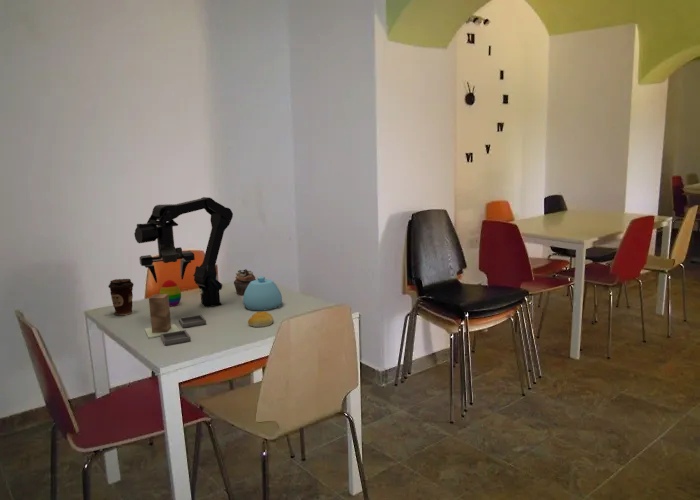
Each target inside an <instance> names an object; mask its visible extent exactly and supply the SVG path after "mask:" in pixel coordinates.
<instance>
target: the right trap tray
mask: <svg viewBox="0 0 700 500" xmlns="http://www.w3.org/2000/svg"><path fill="white" fill-rule="evenodd" d="M177 320H178V323H179V324H180V326H181V327H182V329H187V328H192V327H193V328H194V327H200V326H205V325H207V319H206V318H205V317H203V315H202V314H197V315H189V316H183V317H178V318H177Z"/></svg>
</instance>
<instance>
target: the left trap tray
mask: <svg viewBox="0 0 700 500" xmlns="http://www.w3.org/2000/svg"><path fill="white" fill-rule="evenodd" d="M160 339H161V341H162V343H163V344H164V345H163V346H165V347H167V346H171V345H177V344H178V345H179V344H182V343H183V344H184V343H188V342H191V341H192V340H191V336H190V334H189V333H188V331H187V330H186V329H183V330H182V329H181V330H179V331H176V332H170V333H164V334H161V336H160Z"/></svg>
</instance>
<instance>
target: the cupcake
mask: <svg viewBox="0 0 700 500" xmlns="http://www.w3.org/2000/svg"><path fill="white" fill-rule="evenodd" d="M235 275H236V276H235V280H234V281H233V284H234V288H235V291H236V292H235V293H236V294H237V295H238V294H239V295H240V296H244V293H245V290H246V288H247V287H248V285H249V283H250V282H251V281H254V280H257V279H256V276H255V275H254V271H252V270H248V269H247V268H245V269H242V270H241V269H239V270H237V272H235ZM239 295H238V296H239Z"/></svg>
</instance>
